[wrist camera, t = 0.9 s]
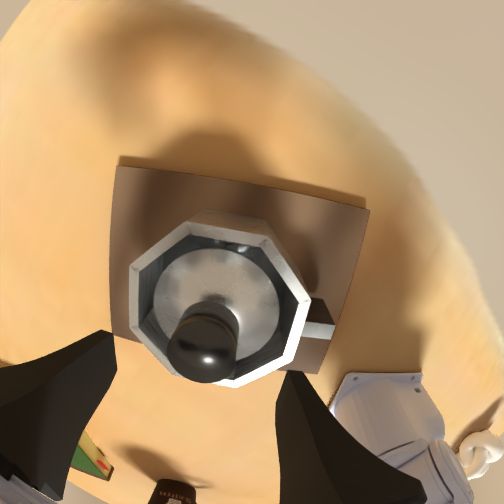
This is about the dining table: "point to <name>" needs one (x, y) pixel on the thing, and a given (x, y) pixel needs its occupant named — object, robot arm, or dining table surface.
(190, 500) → the coffee mug
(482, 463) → the white knot ornament
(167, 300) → the grey knobbed lid
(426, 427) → the robot arm
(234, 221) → the silver octagonal piece
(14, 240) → the dining table surface
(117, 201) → the serving board
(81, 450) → the hardcover book
